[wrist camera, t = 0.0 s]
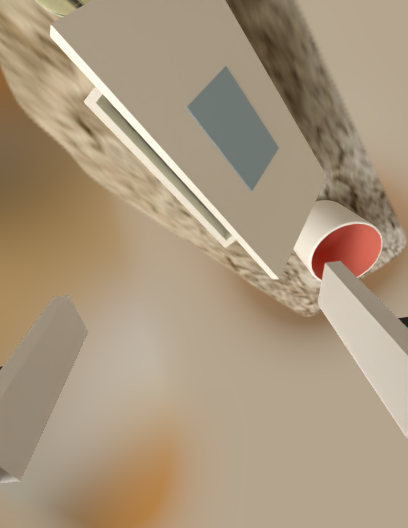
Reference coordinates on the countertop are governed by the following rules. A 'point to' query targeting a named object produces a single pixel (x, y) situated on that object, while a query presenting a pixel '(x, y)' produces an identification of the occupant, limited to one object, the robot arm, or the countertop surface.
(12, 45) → the countertop surface
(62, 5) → the coffee can
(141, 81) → the lid
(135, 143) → the box
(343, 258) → the cup
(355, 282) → the robot arm
